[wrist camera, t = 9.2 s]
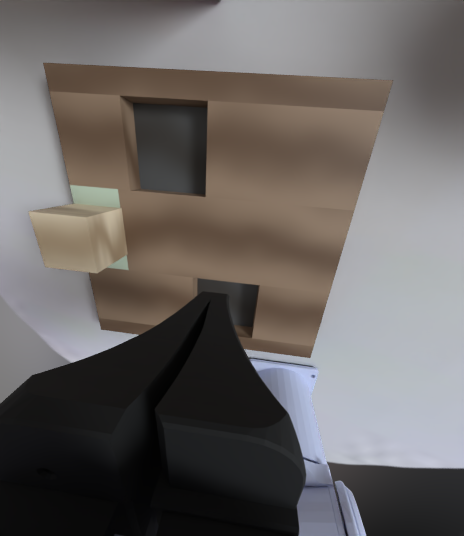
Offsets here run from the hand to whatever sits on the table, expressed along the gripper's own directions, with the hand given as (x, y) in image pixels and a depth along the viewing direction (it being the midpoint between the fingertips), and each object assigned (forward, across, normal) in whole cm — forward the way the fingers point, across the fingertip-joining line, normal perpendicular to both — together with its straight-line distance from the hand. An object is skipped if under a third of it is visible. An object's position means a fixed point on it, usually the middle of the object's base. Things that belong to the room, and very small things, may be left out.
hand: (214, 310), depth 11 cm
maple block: (+8, +11, -1) cm, 14 cm away
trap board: (+10, +2, -1) cm, 11 cm away
